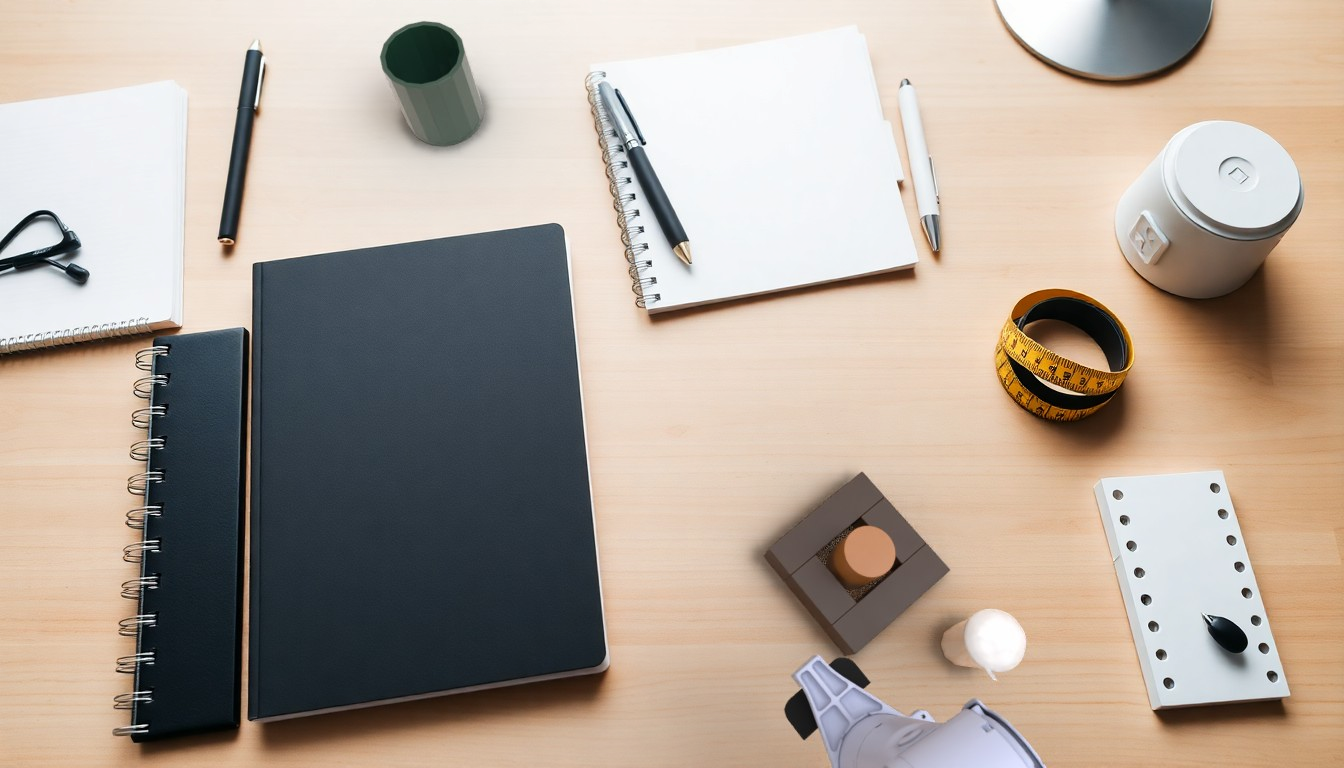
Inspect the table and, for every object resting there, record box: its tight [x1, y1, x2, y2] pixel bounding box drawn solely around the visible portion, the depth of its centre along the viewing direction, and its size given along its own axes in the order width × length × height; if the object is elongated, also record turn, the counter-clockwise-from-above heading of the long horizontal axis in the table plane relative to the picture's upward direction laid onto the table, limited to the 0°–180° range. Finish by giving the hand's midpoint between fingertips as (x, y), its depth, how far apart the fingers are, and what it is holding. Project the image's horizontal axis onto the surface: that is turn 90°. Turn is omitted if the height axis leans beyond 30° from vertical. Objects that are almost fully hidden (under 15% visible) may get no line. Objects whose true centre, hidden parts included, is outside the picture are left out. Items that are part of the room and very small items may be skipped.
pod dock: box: [763, 471, 951, 657], centre depth 70 cm, size 11×11×4 cm
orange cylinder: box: [825, 526, 896, 591], centre depth 68 cm, size 4×4×8 cm
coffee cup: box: [379, 20, 484, 147], centre depth 84 cm, size 8×8×9 cm
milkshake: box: [940, 608, 1027, 682], centre depth 65 cm, size 5×5×10 cm
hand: (853, 751), depth 58 cm, fingers open, 7 cm apart
